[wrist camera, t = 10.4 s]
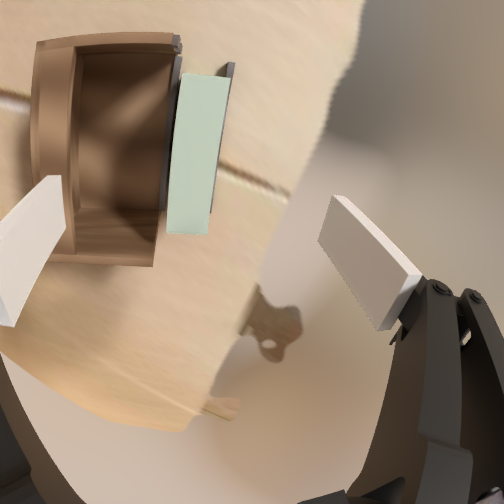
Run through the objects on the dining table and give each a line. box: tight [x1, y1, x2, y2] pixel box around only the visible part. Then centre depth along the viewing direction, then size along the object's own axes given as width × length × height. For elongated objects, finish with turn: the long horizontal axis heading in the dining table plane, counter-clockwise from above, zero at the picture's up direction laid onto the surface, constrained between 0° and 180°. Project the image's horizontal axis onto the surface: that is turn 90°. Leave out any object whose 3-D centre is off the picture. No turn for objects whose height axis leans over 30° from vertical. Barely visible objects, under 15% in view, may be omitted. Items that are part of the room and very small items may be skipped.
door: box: [166, 73, 231, 235], centre depth 24 cm, size 12×3×10 cm, turn 170°
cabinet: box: [30, 32, 235, 267], centre depth 23 cm, size 18×16×10 cm
